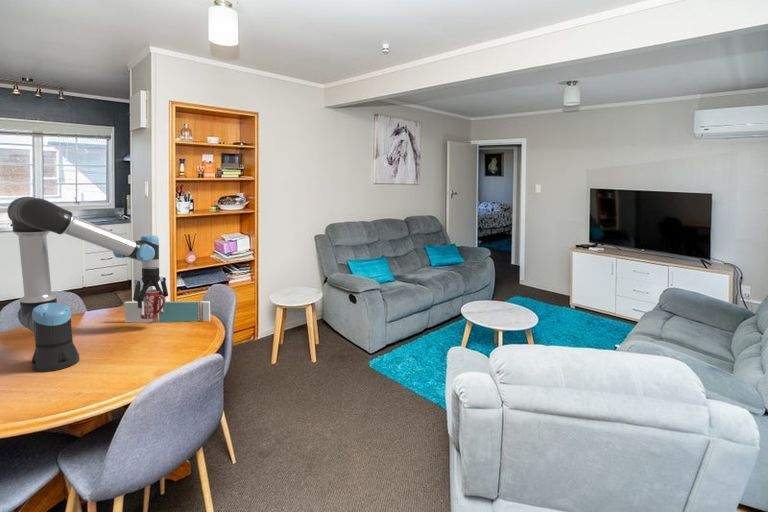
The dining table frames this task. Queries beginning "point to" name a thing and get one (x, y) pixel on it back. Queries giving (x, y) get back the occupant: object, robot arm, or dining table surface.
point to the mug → (151, 304)
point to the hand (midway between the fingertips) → (151, 312)
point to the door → (179, 311)
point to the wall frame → (134, 314)
